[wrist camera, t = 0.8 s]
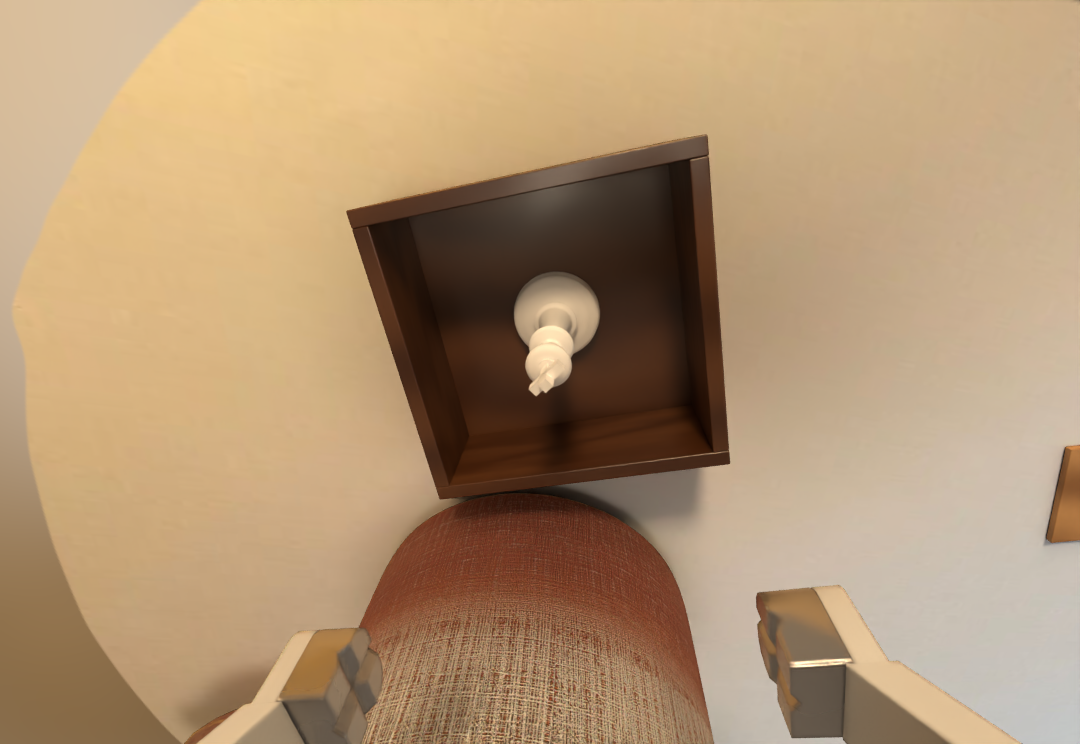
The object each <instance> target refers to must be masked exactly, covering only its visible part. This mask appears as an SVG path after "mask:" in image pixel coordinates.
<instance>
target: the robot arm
mask: <svg viewBox="0 0 1080 744" xmlns="http://www.w3.org/2000/svg"><path fill="white" fill-rule="evenodd" d="M756 606H757V610H758V613H759V615H760V618H761V621H760V622H759V623H758V624H757V626H758V638H759V643H760V649H761V654H762V657H763V660H764V664H765V667H766V670H767V672H768V675H769V678H770V679H771V680H773V681H774V682H775V683H776V684H777V691H778V703H779V705H780V708H781V711H782V713H783V716H784V719H785V721H786V724H787V727H788V729H789V732H790V735H791V737H792V738H825V737H843V740H844V741H845V742H846V743H847V744H1022V743H1020V742H1019V741H1017V740H1016V739H1014V738H1013V737H1011V736H1010V735H1008V734H1007V733H1005V732H1004V731H1002V730H1001V729H999V728H998V727H997V726H995V725H994V724H992V723H991V722H989V721H988V720H986V719H985V718H983V717H982V716H980V715H979V714H977V713H976V712H974V711H973V710H971V709H970V708H968V707H967V706H965V705H964V704H962V703H961V702H959V701H958V700H956V699H955V698H953V697H952V696H950V695H949V694H947V693H946V692H944V691H943V690H941V689H940V688H938V687H937V686H935V685H934V684H932V683H931V682H929V681H928V680H926V679H925V678H923V677H922V676H920V675H919V674H917V673H916V672H914V671H913V670H911V669H910V668H908V667H907V666H905V665H904V664H902V663H901V662H899V661H889V660H888V658H887V657H886V655H885V654H884V652H883V650H882V649H881V647H880V646H879V644H878V642H877V641H876V639H875V638H874V636H873V634H872V633H871V631H870V630H869V628H868V626H867V625H866V623H865V622H864V620H863V618H862V617H861V615H860V613H859V612H858V610H857V609H856V607H855V605H854V604H853V602H852V601H851V599H850V597H849V596H848V594H847V593H846V591H845V589H844V588H842V587H841V586H840V585H833V586H823V587H812V588H799V589H789V590H779V591H769V592H759V593H757V596H756ZM371 640H372V638H371V636H370V634H369V632H368V630H367V628H343V629H325V630H314V631H299V632H297V633H296V634H295V635H293V636H292V637H291V638H290V640H289V642H288V643H287V645H286V647H285V648H284V650H283V652H282V653H281V655H280V657H279V658H278V660H277V661H276V663H275V665H274V666H273V668H272V670H271V671H270V673H269V675H268V676H267V678H266V680H265V681H264V683H263V685H262V686H261V688H260V689H259V691H258V693H257V694H256V696H255V698H254V699H253V701H252V703H251V704H244V705H243V706H241V707H240V708H239V709H238V710H237V711H235V712H234V713H233V714H232V715H231V716H229V717H228V718H227V719H226V720H224V721H223V722H222V723H221V724H220V725H218V726H217V727H216V728H215V729H214V730H212V731H211V732H210V733H209V734H208V735H206V736H205V737H204V738H203V739H201V740H200V741H199V742H198V743H197V744H361V743H362V741H363V738H364V735H365V733H366V730H367V727H368V721H367V718H366V713H367V712H368V711H369V710H370V709H371V708H372V707H373V706H374V705H375V704H376V703H377V700H378V698H379V695H380V692H381V689H382V680H383V668H382V662H381V659H380V657H379V655H378V654H377V653H376V652H375V651H373V650H372V649H370V648H369V645H370V642H371Z"/></svg>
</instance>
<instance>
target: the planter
mask: <svg viewBox="0 0 1080 744" xmlns="http://www.w3.org/2000/svg"><path fill="white" fill-rule="evenodd" d="M359 628H367V630H368V632H369V634H370V636H371V638H372V640H371V642H370V645H369V648H370V649H372V650H373V651H375V652H376V653H377V654H378V655H379V657H380V659H381V662H382V668H383V680H382V689H381V692H380V695H379V698H378V700H377V703H376V704H375V705H374V706H373V707H372V708H371V709H370V710H369V711H368V712H367V713H366V718H367V721H368V727H367V730H366V733H365V735H364V738H363V741H362V743H361V744H714V741H713V736H712V731H711V727H710V722H709V717H708V712H707V707H706V702H705V698H704V693H703V688H702V683H701V678H700V674H699V669H698V664H697V659H696V654H695V650H694V645H693V640H692V636H691V631H690V626H689V622H688V617H687V613H686V609H685V605H684V602H683V599H682V596H681V593H680V590H679V588H678V585H677V583H676V580H675V578H674V576H673V574H672V572H671V570H670V568H669V567H668V565H667V564H666V562H665V561H664V559H663V558H662V557H661V555H660V554H659V553H658V552H657V550H656V549H655V548H654V547H653V546H652V545H651V544H650V543H649V542H648V541H647V540H646V539H645V538H644V537H643V536H641V535H640V534H639V533H638V532H636V531H635V530H634V529H632V528H631V527H630V526H628V525H627V524H625V523H624V522H622V521H620V520H619V519H617V518H615V517H613V516H612V515H610V514H608V513H606V512H604V511H601V510H599V509H597V508H594V507H591V506H589V505H586V504H583V503H580V502H577V501H573V500H569V499H565V498H561V497H555V496H549V495H540V494H524V493H514V494H500V495H493V496H487V497H482V498H477V499H473V500H469V501H466V502H463V503H460V504H457V505H455V506H452V507H450V508H448V509H446V510H444V511H442V512H440V513H438V514H436V515H434V516H433V517H431V518H429V519H428V520H426V521H425V522H424V523H422V524H421V525H420V526H419V527H417V528H416V529H415V530H414V531H413V532H412V533H411V534H410V535H409V536H408V537H407V538H406V539H405V541H404V542H403V543H402V544H401V546H400V547H399V548H398V550H397V551H396V553H395V554H394V556H393V557H392V559H391V561H390V562H389V564H388V566H387V567H386V569H385V571H384V573H383V575H382V577H381V579H380V582H379V584H378V586H377V588H376V590H375V592H374V595H373V597H372V599H371V601H370V603H369V606H368V608H367V610H366V612H365V614H364V617H363V619H362V621H361V623H360V626H359Z"/></svg>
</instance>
